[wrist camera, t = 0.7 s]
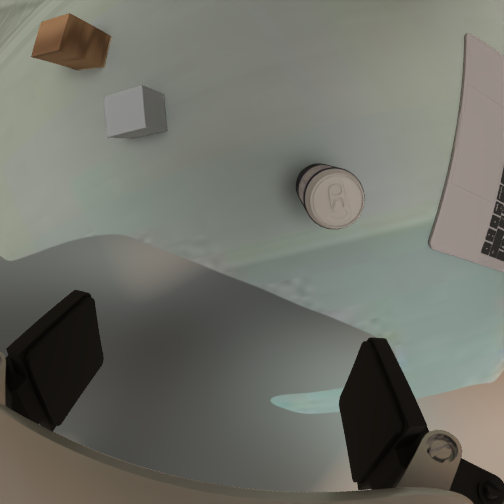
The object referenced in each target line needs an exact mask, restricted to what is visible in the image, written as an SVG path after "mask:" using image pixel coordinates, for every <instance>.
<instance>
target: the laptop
mask: <svg viewBox="0 0 504 504" xmlns="http://www.w3.org/2000/svg"><path fill="white" fill-rule="evenodd" d="M429 246H430V247H431V248H432V249H434V250H437V251H440V252H444V253H447V254H450V255H453V256H456V257H460V258H463V259H466V260H469V261H472V262H475V263H478V264H481V265H484V266H487V267H490V268H493V269H496V270H499V271H502V272H504V56H503V55H501V54H500V53H499V52H497V51H496V50H495V49H493V48H492V47H490V46H489V45H487V44H486V43H485V42H483V41H482V40H480V39H479V38H477V37H475V36H474V35H472V34H470V33H468V34H466V35H465V37H464V65H463V79H462V90H461V99H460V107H459V114H458V121H457V128H456V134H455V139H454V145H453V150H452V155H451V160H450V164H449V169H448V173H447V177H446V182H445V186H444V190H443V193H442V197H441V201H440V205H439V208H438V212H437V215H436V218H435V222H434V225H433V228H432V231H431V234H430V238H429Z"/></svg>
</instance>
